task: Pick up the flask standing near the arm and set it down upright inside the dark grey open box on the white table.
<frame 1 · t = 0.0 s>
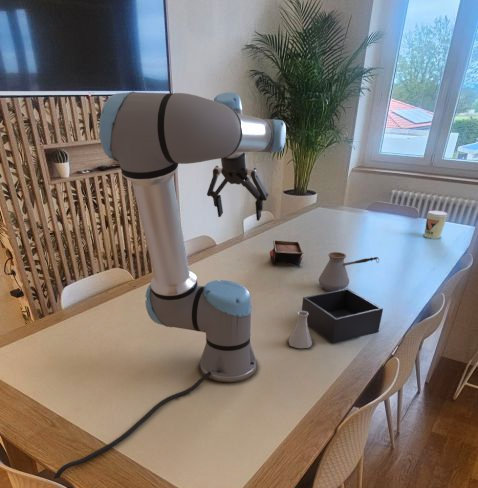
hand: (239, 216, 146), 28 cm above the table, tool tilted 20°, fingers open, 13 cm apart
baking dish: (285, 262, 191), on the table
dark grey open box: (338, 325, 140), on the table
coffee pot: (344, 291, 164), on the table
coffee cup: (431, 236, 225), on the table
flask: (300, 343, 131), on the table
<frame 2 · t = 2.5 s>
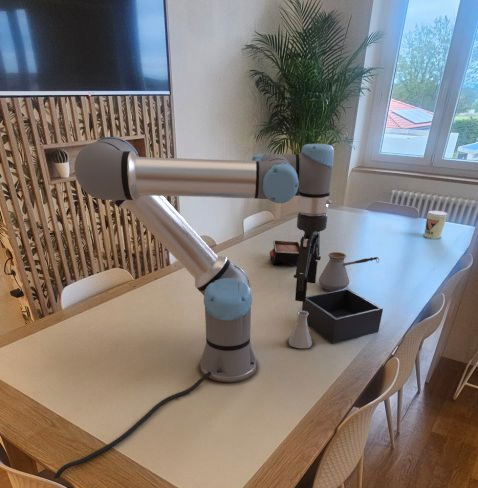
hand: (305, 291, 121), 17 cm above the table, tool pointing down, fingers open, 13 cm apart
nothing on the table moved.
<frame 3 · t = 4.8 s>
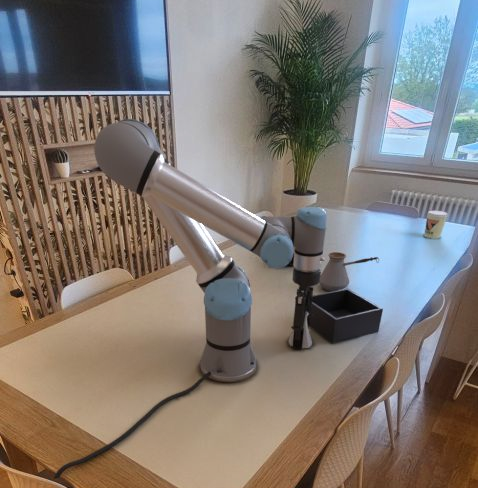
hand: (300, 341, 130), 1 cm above the table, tool pointing down, fingers closed on flask, 7 cm apart
flask: (300, 343, 131), on the table, touching gripper
everything else where it was.
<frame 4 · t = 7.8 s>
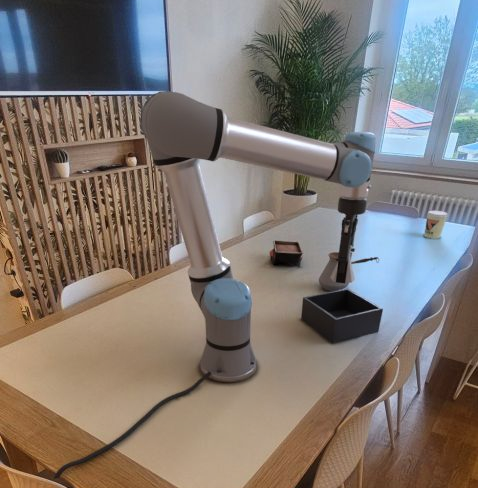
hand: (342, 277, 130), 17 cm above the table, tool pointing down, fingers closed on flask, 7 cm apart
flask: (342, 280, 130), point 16 cm above the table, touching gripper
everything else where it was.
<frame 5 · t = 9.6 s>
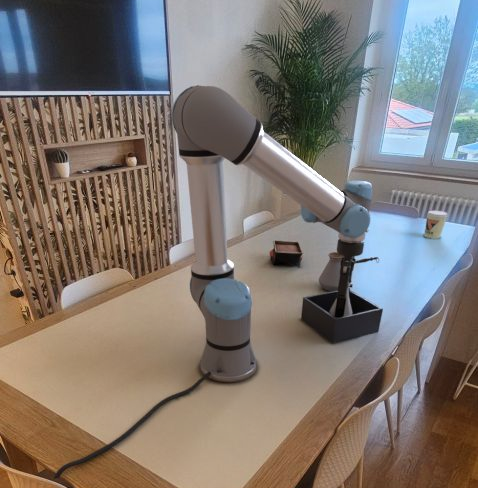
hand: (340, 311, 138), 5 cm above the table, tool pointing down, fingers closed on flask, 7 cm apart
flask: (340, 313, 138), point 4 cm above the table, touching gripper
everything else where it was.
when the fingers open (1 cm above the table, at t = 11.0 s): flask stays where it is, resting on dark grey open box.
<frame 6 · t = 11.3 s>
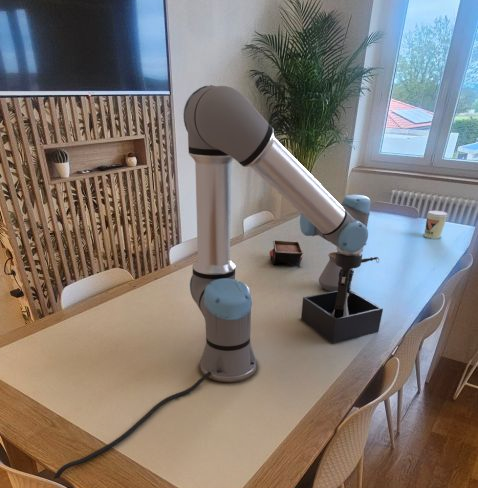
hand: (339, 320, 139), 2 cm above the table, tool pointing down, fingers open, 10 cm apart
flask: (339, 323, 140), point 1 cm above the table, touching dark grey open box
everything else where it was.
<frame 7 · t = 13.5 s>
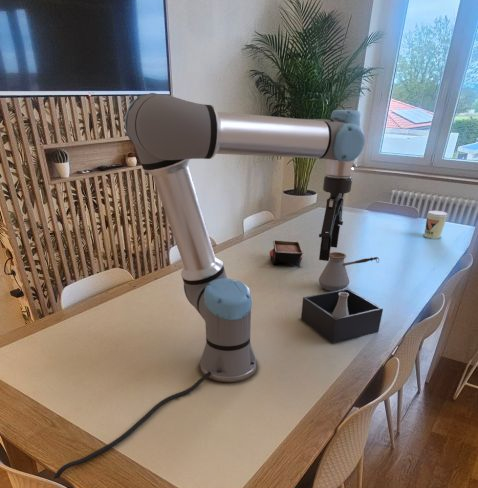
hand: (328, 253, 129), 23 cm above the table, tool pointing down, fingers open, 13 cm apart
nothing on the table moved.
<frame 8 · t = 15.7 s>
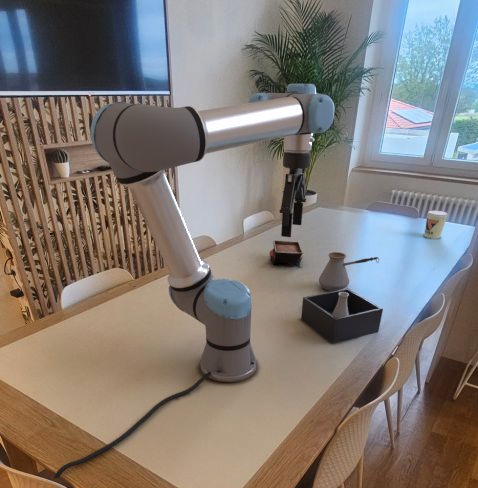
hand: (291, 230, 129), 29 cm above the table, tool pointing down, fingers open, 13 cm apart
nothing on the table moved.
at the end: flask inside the target area in the dark grey open box (0.1 cm from its centre), point 0.8 cm above the dark grey open box's base; flask tilted 0° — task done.
